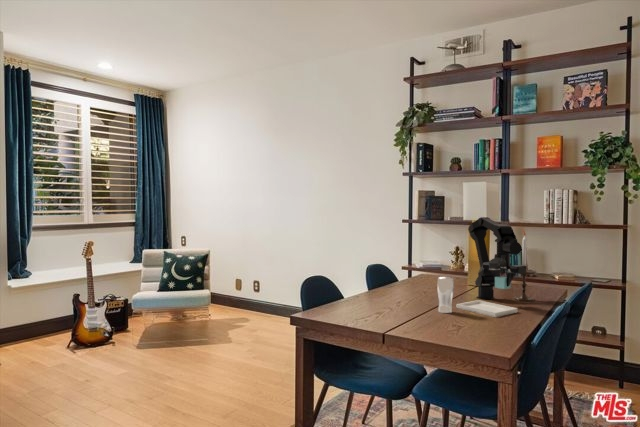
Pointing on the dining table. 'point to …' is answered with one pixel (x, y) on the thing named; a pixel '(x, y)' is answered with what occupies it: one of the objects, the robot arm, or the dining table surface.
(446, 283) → the beer glass
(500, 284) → the block
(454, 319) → the dining table surface
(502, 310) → the tray
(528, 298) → the candlestick
